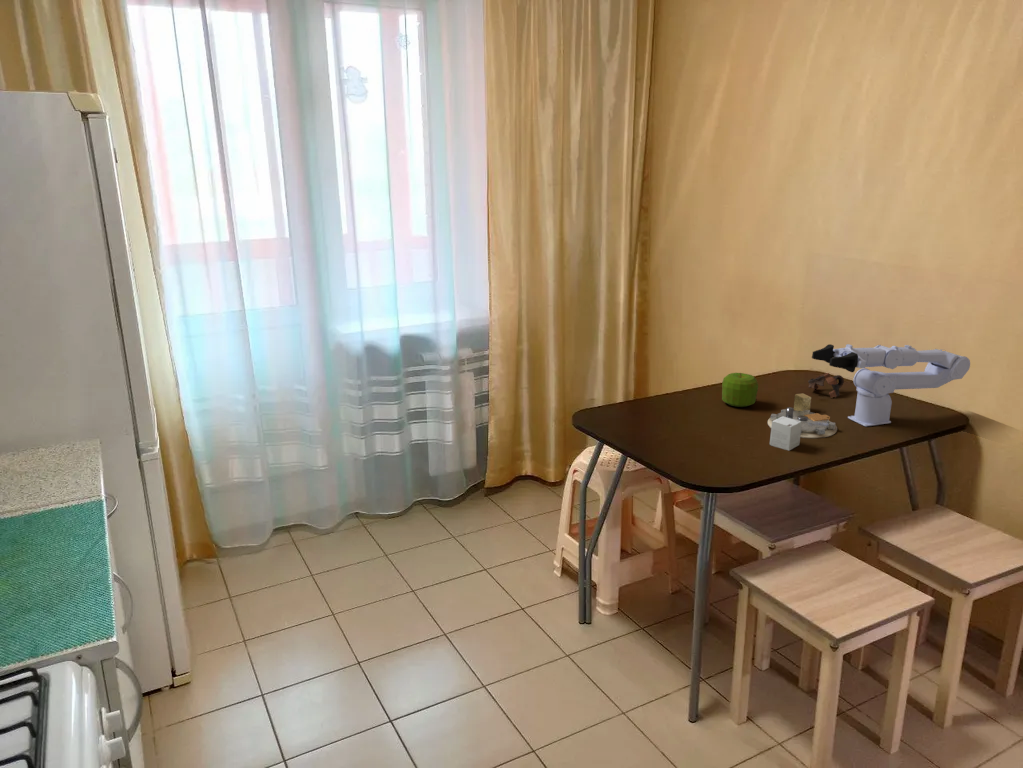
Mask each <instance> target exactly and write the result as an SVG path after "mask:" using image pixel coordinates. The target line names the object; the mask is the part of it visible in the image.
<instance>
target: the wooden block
mask: <svg viewBox="0 0 1023 768" xmlns="http://www.w3.org/2000/svg"><path fill="white" fill-rule="evenodd" d="M811 403H812V396H809V395H807V394H805V393H796V394H794V402H793V408H794V411H803V409H804V410H810V411H811Z"/></svg>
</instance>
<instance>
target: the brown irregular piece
mask: <svg viewBox="0 0 1023 768" xmlns="http://www.w3.org/2000/svg"><path fill="white" fill-rule="evenodd" d="M837 380H838V382H837ZM825 381H826V382H827V384H828V385H829V386H832V391H829V392H828V394H829V396H830V398H831V397H835V398H838V397H839V396H840V389H841V388H842V387H843V385H844V384H845V380H844V377H843V376H842V375H840V374H837V375H834V376H832V375H830V372H826V373H823V374H820V375H817V376H816V377H815V378H810V379H808V381H807V382H808V389H813V390H814V389H816V390H818V389H819V386H820V387H825V384H824V383H825Z"/></svg>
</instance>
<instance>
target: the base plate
mask: <svg viewBox="0 0 1023 768" xmlns="http://www.w3.org/2000/svg"><path fill="white" fill-rule="evenodd" d="M770 419H771V416H770V417H769V418H768V420H767V425H768V427H769V428H770V429H771V426H772V420H770ZM829 422H831V420H830V421H829ZM837 431H838V427H837V424H835V428H834V430H833V429H827V430H826V431H825V434H821V435H819V434H817V433H801V434H800V439H801V438H802V439H823V438H829V437H832V436H833V435H835V434H836V433H837Z"/></svg>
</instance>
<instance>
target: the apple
mask: <svg viewBox="0 0 1023 768" xmlns="http://www.w3.org/2000/svg"><path fill="white" fill-rule="evenodd" d="M721 388H722V389H721V401H723V402H724V403H726V404H727V405H729V406H732V407H735V408H736V407H737V408H739V407H740V408H743V407H744V408H745V407H749V406H752V405H754V404H755V402H756V400H757V396H758V390H759V382H758V379H757V378H756V377H755V376H754V375H752V374H748V373H744V372H731V373H728V374H727V375H726V376H724V377H723V380H722V383H721Z"/></svg>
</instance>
